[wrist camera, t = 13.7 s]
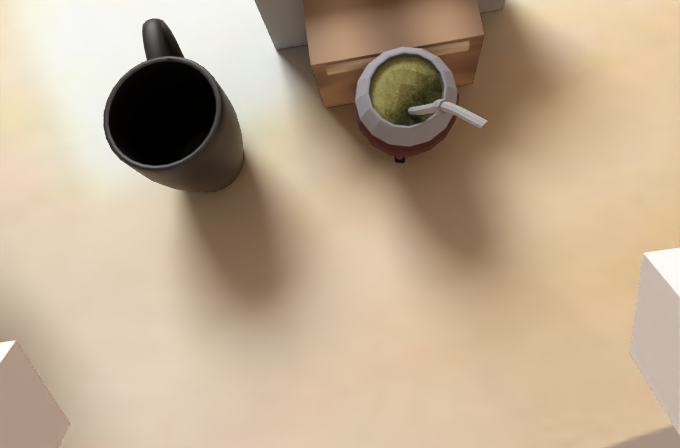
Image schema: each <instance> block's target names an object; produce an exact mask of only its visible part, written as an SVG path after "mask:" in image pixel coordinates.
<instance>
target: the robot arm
mask: <svg viewBox="0 0 680 448" xmlns="http://www.w3.org/2000/svg"><path fill="white" fill-rule="evenodd" d="M629 354H630V356H631V357H632V359H633V361H634V362H635V364H636V365H637V367H638V369H639V370H640V372H641V374H642V375H643V377H644V378H645V380H646V382H647V383H648V385H649V386H650V388H651V390H652V391H653V393H654V395H655V396H656V398H657V399H658V401H659V403H660V404H661V406H662V408H663V409H664V411H665V412H666V414H667V416H668V417H669V419H670V420H671V422H672V424H673V425H674V427H675V428H676V430H677V432H678V433H679V435H680V248H675V249H667V250H660V251H653V252H646V253H643V258H642V266H641V273H640V280H639V287H638V295H637V302H636V309H635V316H634V323H633V331H632V338H631V345H630V352H629ZM69 425H70V423H69V421H68V420H67V418H66V417H65V415H64V413H63V412H62V410H61V409H60V407H59V406H58V404H57V403H56V401H55V400H54V398H53V397H52V395H51V393H50V392H49V390H48V389H47V387H46V386H45V384H44V383H43V381H42V380H41V378H40V377H39V375H38V374H37V372H36V370H35V369H34V367H33V366H32V364H31V363H30V361H29V360H28V358H27V357H26V355H25V354H24V352H23V350H22V349H21V347H20V346H19V344H18V343H17V341H16V340H15V341H8V342H1V343H0V448H58V447H59V445H60V443H61V441H62V439H63V437H64V435H65V433H66V431H67V429H68V427H69Z"/></svg>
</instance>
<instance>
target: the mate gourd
mask: <svg viewBox="0 0 680 448" xmlns="http://www.w3.org/2000/svg"><path fill="white" fill-rule="evenodd" d="M458 99H459V95H458V91H457V87H456V84H455V81H454V77H453V74H452V72H451V71H450V69H449V68H448V67H447V66H446V65H445V64H444V62H443V61H442V60H441V59H440V58H439V57H438V56H436V55H434V54H432V53H430V52H428V51H426V50H424V49H422V48H411V47H400V48H396V49H393V50H389V51H386V52H383V53H382V54H380V55H379V56H378V57H377V58H375V59H374V60H373V61H372V62H370V63H369V64H368V65H367V66H366V68H365V70H364V71H363V73H362V75H361V77H360V78H359V80H358V82H357V85H356V90H355V98H354V106H353V109H354V112H355V116H356V119H357V123H358V126H359V128H360V130H361V131H362V132H363V134H364V135H365V136H366V138H367V139H368V140H369V141H370V143H371V144H372V145H373V146H375V147H377V148H378V149H380V150H382V151H384V152H385V153H387V154H389V155H391V156H394V157H395V162H397V163H404V162H405V157H408V156H412V155H415V154H418V153H422V152H425V151H428V150H430V149H431V148H432V147H434V146H435V145H436V144H438V143H439V142H440V141H442V140H443V139H444V138H445V137H446V135H447V133H448V132H449V130H450V129H451V127H452V125H453V124H454V122H455V120H456V116H457V117H459V118H461V119H463V120H465V121H467V122H469V123H470V124H472V125H474V126H476V127H478V128H480V129H482V128H483V127H484V126H485V125H486V124H487V123H488V121H487V120H485V119H484V118H482V117H480V116H478V115H476V114H474V113H472V112H470V111H468V110H466V109H464V108H462V107H460V106H458Z"/></svg>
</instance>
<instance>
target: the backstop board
mask: <svg viewBox="0 0 680 448" xmlns="http://www.w3.org/2000/svg"><path fill="white" fill-rule="evenodd" d="M504 1H505V0H477V2H478V7H479V12H480V13H484V12H490V11H495V10H501V9H502V8H503V5H504ZM255 3H256V5H257V7H258V9H259V12H260V14H261V16H262V19H263V21H264V23H265V25H266V28H267V30H268V32H269V35H270V37H271V39H272V41H273V44H274V46H275V48H276V50H278V49H284V48H289V47H295V46H301V45H306V44H308V40H307V32H306V24H305V16H304V8H303V0H255Z"/></svg>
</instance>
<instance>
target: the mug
mask: <svg viewBox="0 0 680 448" xmlns="http://www.w3.org/2000/svg"><path fill="white" fill-rule="evenodd" d="M142 35H143V43H144V49H145V54H146V58H147V61H145V62H142V63H141V64H139V65H137V66H136V67H134V68H132V69H131V70H130V71H128V72H127V73H126V74H125V75H124V76H123V77H122V78H121V79H120V80H119V81H118V83H117V84H116V85H115V86H114V88H113V89H112V91H111V93H110V95H109V97H108V100H107V102H106V106H105V110H104V131H105V135H106V139H107V141H108V143H109V145H110V147H111V149H112V151H113V152H114V153H115V154H116V155H117V157H118V158H119V159H120V160H121V161H123V162H124V163H126V164H127V165H129V166H130V167H132V168H133V169H135V170H136V171H138V172H139V173H141V174H142V175H144V176H145V177H147V178H149V179H150V180H152V181H154V182H157V183H159V184H162V185H165V186H168V187H170V188H174V189H178V190H186V191H195V192H215V191H218V190H221V189H223V188H225V187H227V186H228V185H230V184H231V183H232V182H233V181H234V180H235V179H236V177H237V176H238V175H239V173H240V171H241V168H242V165H243V160H244V155H243V143H242V133H241V129H240V126H239V122H238V119H237V115H236V113H235V110H234V108H233V106H232V104H231V103H230V101H229V99H228V97H227V96H226V94H225V93H224V91H223V90H222V88H221V87H220V86H219V84H218V83H217V81H216V80H215V79H214V77H213V76H212V75H211V74H210V73H209V72H208V71H207V70H206V69H205V68H204V67H202V66H201V65H199V64H197V63H196V62H194V61H191V60H188V59H185V58H184V56H183V54H182V52H181V50H180V47H179V45H178V43H177V41H176V39H175V37H174V35H173V34H172V32H171V30H170V29H169V27H168V26H167V25H166V24H165V22H164V21H163V20H160V19H150V20H147V21H146V22H145V23H144V24H143V29H142Z"/></svg>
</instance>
